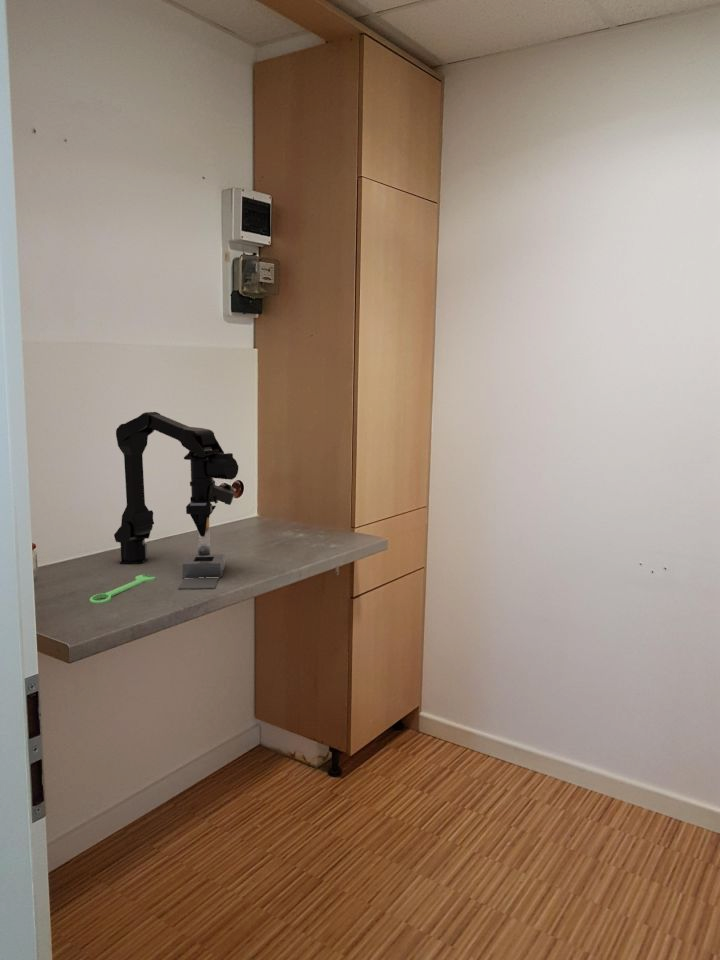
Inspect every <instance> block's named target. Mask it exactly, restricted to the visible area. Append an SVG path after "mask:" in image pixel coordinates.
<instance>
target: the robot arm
mask: <svg viewBox="0 0 720 960" xmlns="http://www.w3.org/2000/svg"><path fill="white" fill-rule="evenodd" d="M115 430H116V431H115V437H116V441H117V446H118V448H119V450H120V452H121V453H122V454H123V459H124V462H123V463H124V477H125V479H124V481H125V495H126V497H125V498H126V499H125V500H126V507H125V508H124V511H123V512H122V515H121V521H120V522H121V524H120V526H119V528H118V529H117V530H116V531H115V533H114V534H113V536H114V541H115V542H116V543H119V544H120V560H119V564H120V565H121V564H143V563H144V562H145V561H146V559H148V543H146V542H145V541H146V540H145V539H150V535H151V531H152V530H153V527H154V526H153V525H155V522H154V512H153V510H149V509H148V507H147V505H146V500H145V499H146V497H145V483H144V482H145V481H144V463H143V462H144V460H143V459H144V458H143V455H144V452H145V449H146V448H147V445H148V438H149V436H150V435H151V434H152V433H154V432H155V431H156V432H159V433H160V434H163V435H166V436H168V437H170V438H172V439H175V440H177V441H178V442H180V444H181V446H182V447H183V448H185V449H186V450H188V453H187V454H185V456H183V459H184V460H188V461H190V482H189V487H190V490H191V491H190V492H191V496H190V502H189V503H188V504H187V505H186V506H185V508H186V510H185V512H186V515H190V517H191V519H192V521H193V523H194V526H195V527H196V530H197V529H198V531H199V533H200V535H201V536H205V532H206V525H207V519H208V517H209V518H211V517H210V515H212V513H213V512H214V509H216V507H217V504H218V503H219V502H221V503H224V504H225V505H229V506H231V504H232V503H233V500H234V497H235V493H236V492H235V490H232V489H233V488H232V485H231V484H229V483H225V484H224V485H223V486H221V485H217V484H216V480H214V479H219V480H234V479H235V478H236V477H237V476H238V474H239V464H238V462H237V460H236V459H235V458H234V455H233V453H232V452H231V453H230V452H226V453H225V452H224V450H223V448H222V447H221V445H220V444H219V441H218V439H216V436H215V433H214V431H213V430H211V429H208V428H203V427H202V428H201V427H194V426H188V425H186V424H183V423H181V422H178V421H176V420H174V419H172V418H169V417H167V416H165V415H163V414H161V413H159V412H158V411H147V412H143V413H142V414H140V415H139V416H137V417H136V418H132V420H129V421H127V422H125V423H121V424H119V425H118V427H117V428H116V429H115ZM212 503H214V504H216V505H213V504H212Z"/></svg>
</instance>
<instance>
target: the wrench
mask: <svg viewBox="0 0 720 960" xmlns="http://www.w3.org/2000/svg"><path fill="white" fill-rule="evenodd" d="M156 577H157V576H150V574H139V575H136V576H135V578H134V580H133V581H131V582H129V583H126V584H124V585H122V586H119V587H116V588H115V589H112V590H108V591H107V592H105V593H102V592H101V593H97V594H94V595H93V596H91V597H90V598H89V603H90V604H94V605H96V604H99V605H100V604H106V603H110V602H112V597H114V596H116V595H118V594H121V593H123V592H125V591H127V590H130V589H132V588H135V587H137V586H139V585H141V584H142V583H149V581H150V582H154V581H156V580H155V579H157V578H156ZM153 580H154V581H153ZM97 599H98V600H97ZM99 599H101V600H99Z"/></svg>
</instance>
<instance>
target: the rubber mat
mask: <svg viewBox="0 0 720 960" xmlns="http://www.w3.org/2000/svg"><path fill="white" fill-rule="evenodd" d="M217 581H219V578H193V579H183V578H182V581H181V583H180V585H179V586H178V589H191V590H211V589H210V588H215V589H216V587H217V584H218V582H217ZM216 583H217V584H216ZM215 586H216V587H215Z"/></svg>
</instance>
